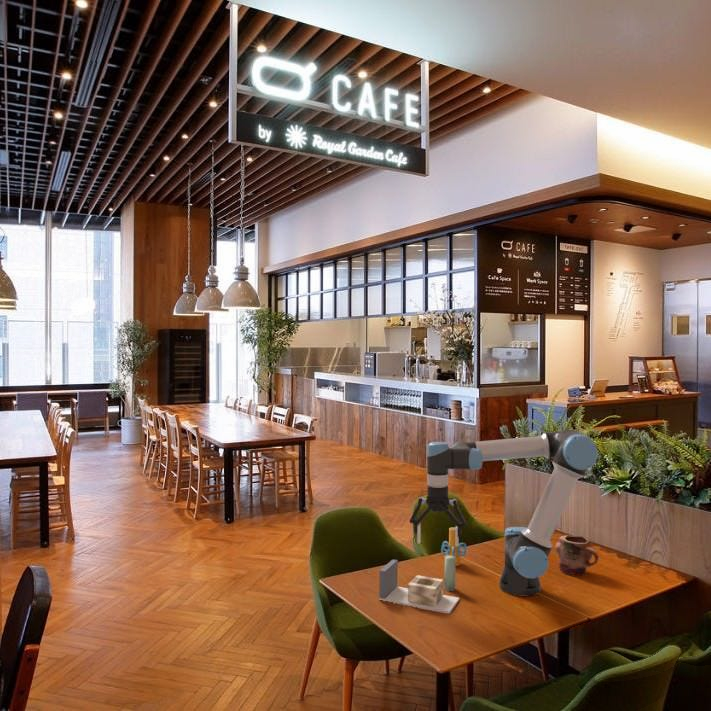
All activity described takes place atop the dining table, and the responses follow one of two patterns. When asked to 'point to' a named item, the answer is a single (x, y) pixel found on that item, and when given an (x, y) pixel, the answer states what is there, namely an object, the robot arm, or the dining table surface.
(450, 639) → the dining table surface
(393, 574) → the backstop
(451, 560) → the dowel
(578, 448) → the robot arm
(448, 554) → the orange ringed tube
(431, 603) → the block
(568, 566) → the brown ceramic mug
